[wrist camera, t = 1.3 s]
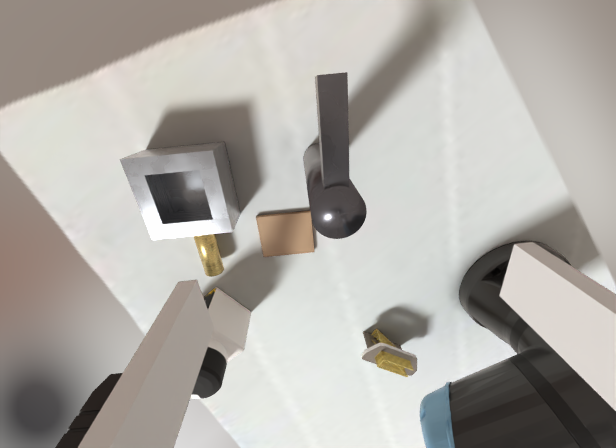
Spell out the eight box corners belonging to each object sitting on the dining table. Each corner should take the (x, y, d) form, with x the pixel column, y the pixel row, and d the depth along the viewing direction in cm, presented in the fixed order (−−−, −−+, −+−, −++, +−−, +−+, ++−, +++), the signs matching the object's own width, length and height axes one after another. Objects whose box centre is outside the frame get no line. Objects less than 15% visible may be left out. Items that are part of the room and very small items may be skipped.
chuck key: (334, 172, 32) (366, 235, 18) (304, 175, 32) (313, 241, 18) (330, 81, 28) (368, 70, 14) (296, 84, 28) (298, 76, 14)
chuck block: (224, 141, 30) (212, 150, 26) (250, 259, 37) (244, 281, 33) (145, 149, 30) (119, 159, 26) (186, 265, 37) (171, 289, 33)
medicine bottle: (216, 285, 39) (187, 358, 28) (252, 311, 42) (238, 387, 31) (186, 311, 41) (148, 388, 30) (222, 334, 44) (198, 413, 33)
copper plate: (310, 210, 34) (310, 212, 34) (314, 249, 37) (314, 251, 37) (256, 215, 34) (256, 217, 34) (264, 254, 37) (263, 257, 37)
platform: (360, 291, 41) (371, 323, 36) (446, 327, 46) (468, 362, 40) (321, 339, 46) (325, 376, 40) (403, 368, 50) (418, 405, 44)
